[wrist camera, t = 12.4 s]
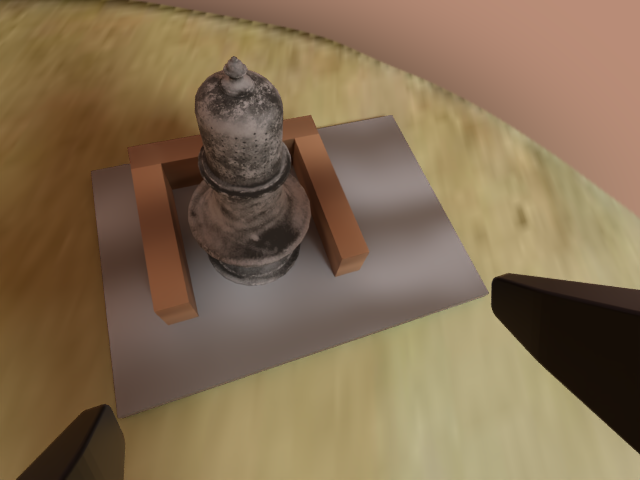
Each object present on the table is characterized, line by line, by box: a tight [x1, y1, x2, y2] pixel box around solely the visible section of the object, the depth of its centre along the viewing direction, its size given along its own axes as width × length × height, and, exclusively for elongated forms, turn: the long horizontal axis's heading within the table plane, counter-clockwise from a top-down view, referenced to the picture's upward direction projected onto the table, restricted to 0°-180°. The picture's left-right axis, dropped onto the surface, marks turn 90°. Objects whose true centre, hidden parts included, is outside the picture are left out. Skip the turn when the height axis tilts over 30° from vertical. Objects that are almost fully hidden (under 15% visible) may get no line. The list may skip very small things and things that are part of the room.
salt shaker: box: [188, 56, 311, 286], centre depth 16 cm, size 6×6×12 cm
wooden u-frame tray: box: [91, 115, 489, 418], centre depth 21 cm, size 14×20×3 cm
